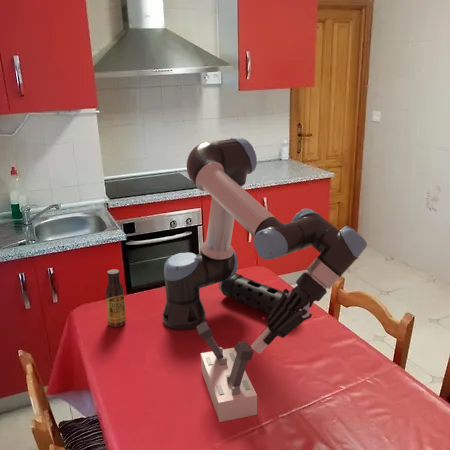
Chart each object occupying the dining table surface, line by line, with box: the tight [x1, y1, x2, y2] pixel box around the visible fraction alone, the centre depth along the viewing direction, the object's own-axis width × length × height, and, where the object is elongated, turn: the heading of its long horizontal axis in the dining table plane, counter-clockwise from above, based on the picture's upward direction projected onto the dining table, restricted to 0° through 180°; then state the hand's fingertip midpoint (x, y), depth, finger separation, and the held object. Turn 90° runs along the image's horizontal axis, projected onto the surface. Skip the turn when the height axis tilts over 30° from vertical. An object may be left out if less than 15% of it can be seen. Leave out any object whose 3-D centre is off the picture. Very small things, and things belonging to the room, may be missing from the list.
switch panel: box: [200, 346, 258, 423], centre depth 130 cm, size 10×22×8 cm, turn 15°
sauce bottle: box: [105, 268, 127, 328], centre depth 164 cm, size 7×6×20 cm
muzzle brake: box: [218, 272, 289, 315], centre depth 174 cm, size 10×28×10 cm, turn 46°
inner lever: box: [196, 320, 224, 360], centre depth 133 cm, size 3×4×11 cm
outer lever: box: [229, 341, 254, 387], centre depth 122 cm, size 3×4×11 cm
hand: (255, 349), depth 121 cm, fingers closed
